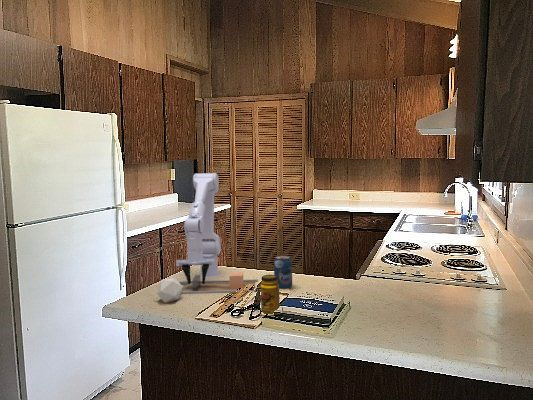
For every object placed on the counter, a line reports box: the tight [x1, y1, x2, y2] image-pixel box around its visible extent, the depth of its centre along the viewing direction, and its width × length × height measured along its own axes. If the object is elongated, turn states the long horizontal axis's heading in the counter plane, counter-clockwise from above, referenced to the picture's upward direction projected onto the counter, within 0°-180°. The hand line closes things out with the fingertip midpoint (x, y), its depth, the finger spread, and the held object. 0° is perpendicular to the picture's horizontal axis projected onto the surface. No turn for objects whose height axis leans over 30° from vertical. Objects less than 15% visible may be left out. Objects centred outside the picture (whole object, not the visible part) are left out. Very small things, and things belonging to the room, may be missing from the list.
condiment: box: [260, 274, 281, 314], centre depth 145 cm, size 7×8×12 cm
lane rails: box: [177, 278, 259, 296], centre depth 172 cm, size 15×36×1 cm, turn 90°
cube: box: [228, 271, 244, 289], centre depth 172 cm, size 5×5×5 cm
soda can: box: [273, 255, 293, 290], centre depth 171 cm, size 7×7×12 cm
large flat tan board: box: [190, 274, 256, 291], centre depth 172 cm, size 12×24×4 cm, turn 90°
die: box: [156, 277, 184, 304], centre depth 159 cm, size 8×9×10 cm
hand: (196, 283), depth 172 cm, fingers open, 5 cm apart
